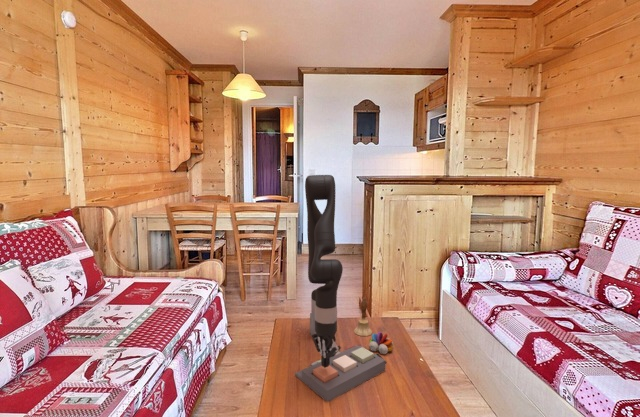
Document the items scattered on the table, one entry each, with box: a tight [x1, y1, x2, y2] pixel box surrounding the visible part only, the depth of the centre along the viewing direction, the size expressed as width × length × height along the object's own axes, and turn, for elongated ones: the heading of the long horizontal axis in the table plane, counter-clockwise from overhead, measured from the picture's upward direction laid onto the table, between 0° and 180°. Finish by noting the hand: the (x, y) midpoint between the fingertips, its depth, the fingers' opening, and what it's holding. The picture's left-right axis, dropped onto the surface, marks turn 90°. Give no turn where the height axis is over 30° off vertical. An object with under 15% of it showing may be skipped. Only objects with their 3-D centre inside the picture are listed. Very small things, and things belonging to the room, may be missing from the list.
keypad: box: [294, 344, 387, 403], centre depth 127 cm, size 18×28×4 cm, turn 129°
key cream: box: [333, 355, 357, 373], centre depth 125 cm, size 6×6×2 cm
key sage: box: [351, 346, 375, 364], centre depth 130 cm, size 6×6×2 cm
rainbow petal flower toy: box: [368, 331, 394, 355], centre depth 143 cm, size 8×10×7 cm
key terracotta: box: [313, 365, 338, 383], centre depth 119 cm, size 6×6×2 cm
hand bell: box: [353, 297, 373, 337], centre depth 157 cm, size 8×8×16 cm
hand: (325, 366), depth 119 cm, fingers closed
